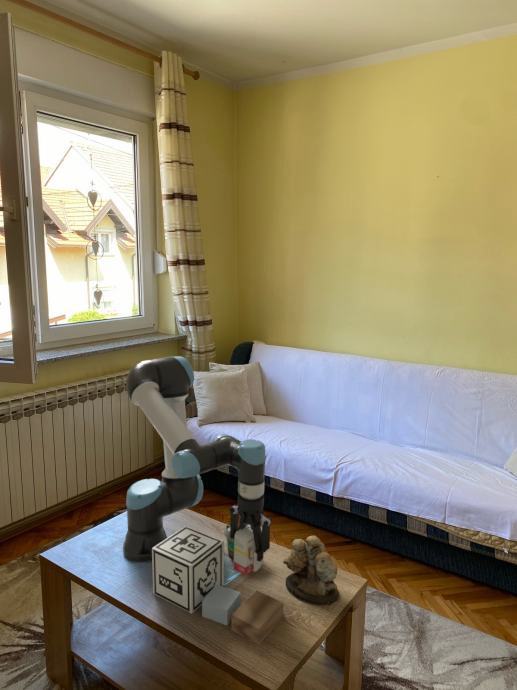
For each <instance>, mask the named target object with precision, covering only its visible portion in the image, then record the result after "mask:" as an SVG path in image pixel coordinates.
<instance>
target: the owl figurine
mask: <svg viewBox="0 0 517 690" xmlns="http://www.w3.org/2000/svg"><path fill="white" fill-rule="evenodd" d="M282 563H283V564H284V565H286V568H288V569H289V570H291V571H292V573H290V574H289V575H288V576H287V577H285V587H286V590H287V591H288V592H289V593H291V595H293V596H294V597H296V598H297V599H299V600H301V601H303V602H306V603H307V604H313V605H318V606H326V605H329V604H330V605H331V603H332V604H334V603H336V602H337V601H338V599H339V597H340V594H339V589H338V585H337V584H336V583H335V579H336V578H337V575H338V563H336V561H335V560H334V559H333V558H332V556H331V554H329V553H328V552H327V551H326V546H325V544H324V543H323V542H322V541H321V539H320V538H319V537H317V535H314V534H313V535H310V536H308V537H306V539H305V540H304V539H302V538H295V539H294V540H292V544H291V551H290V553H289V555H288V558H286V557H285V558H284V559H283V561H282Z"/></svg>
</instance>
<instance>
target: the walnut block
mask: <svg viewBox="0 0 517 690" xmlns="http://www.w3.org/2000/svg"><path fill="white" fill-rule="evenodd" d="M284 606H285V605H284V602H283V601H280V600H278V599H276V598H274V597H271V596H270V595H268V594H265V593H263V592H261V591H260V590H255V592H253V594H251V596H250V597H248V598H247V599H246V600H245V601H244V602H243V603H241V606H240V607H239V608H238V609H237V610H236V611H235V612H234V613H233V614H232V620H231V621H230V623H231V626H230V627H231V629H230V630H231V631H233V632H235V633H236V634H239V635H240V636H242V637H243V638H245V639H247V640H249V641H251V642H253V643H255V644H257V645H260V644H261V643H262V642H263V641H264V639H266V637H267V636H268V635H269V634H270V633H271V632H272V631H273V630H274V629H275V628H276V627H277V626H278V624H279V623H280V622H281V621H282V620H283V619H284Z"/></svg>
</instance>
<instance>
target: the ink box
mask: <svg viewBox="0 0 517 690" xmlns="http://www.w3.org/2000/svg"><path fill="white" fill-rule="evenodd" d="M260 527H261V532H262V525H261V526H260ZM255 550H256V545H255V540H254V535H253V530H252V529H251V526H250V525H249V524H247V526H246V527H245V528H243V529H242V530H241V529H240V530H238V531H237V532H236V533H235V541H234V561H233V570H234V571H235V572H238V573H239V574H241V575H242V576H244V577H245V576H247V575H249V574H250V573H252V571H253V566H254V551H255ZM264 554H265V552H263V559H262V560H261V565H262V564H264V556H265V555H264ZM253 572H254V571H253Z"/></svg>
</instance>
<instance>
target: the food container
mask: <svg viewBox="0 0 517 690" xmlns="http://www.w3.org/2000/svg"><path fill="white" fill-rule="evenodd" d="M223 534H224V536H225V538H226V545H227V553H228V554H227V555H228V558H229V559H230V560H232V561H233V562H234V541H235V540H234V539H231V538H230V525H229V524H228V522H226V525H225V526H224V531H223Z"/></svg>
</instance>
